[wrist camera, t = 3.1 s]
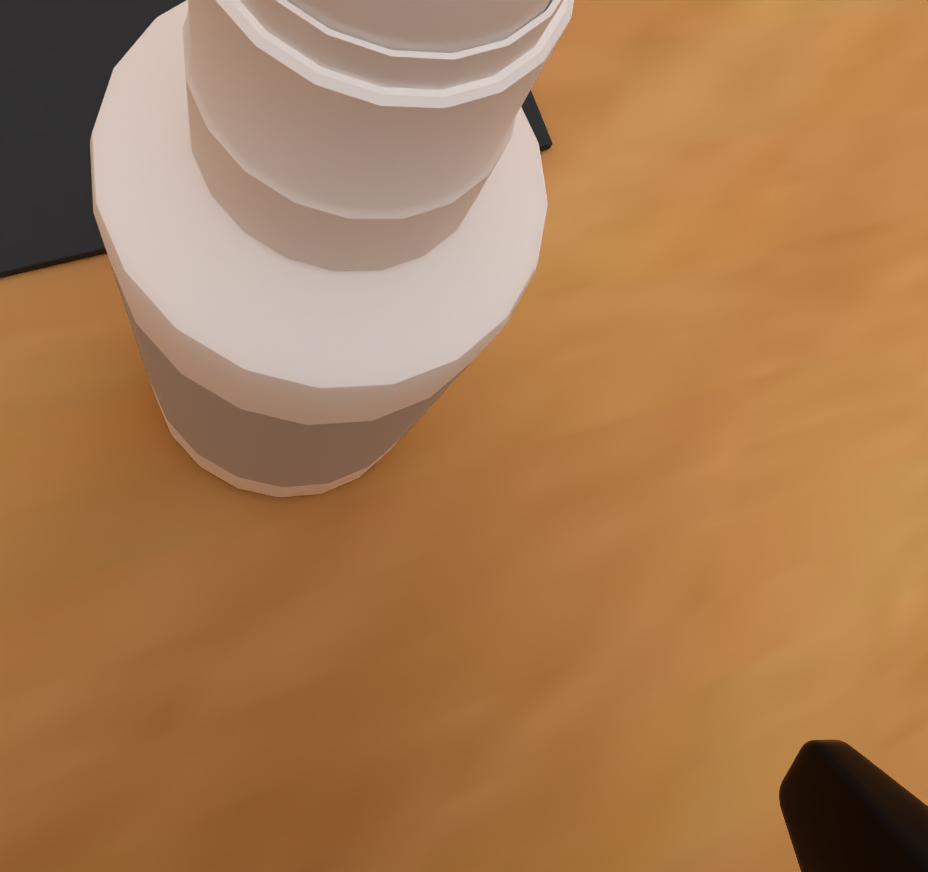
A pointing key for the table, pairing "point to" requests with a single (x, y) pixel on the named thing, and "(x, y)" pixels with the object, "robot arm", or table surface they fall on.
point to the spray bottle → (319, 217)
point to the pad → (68, 120)
